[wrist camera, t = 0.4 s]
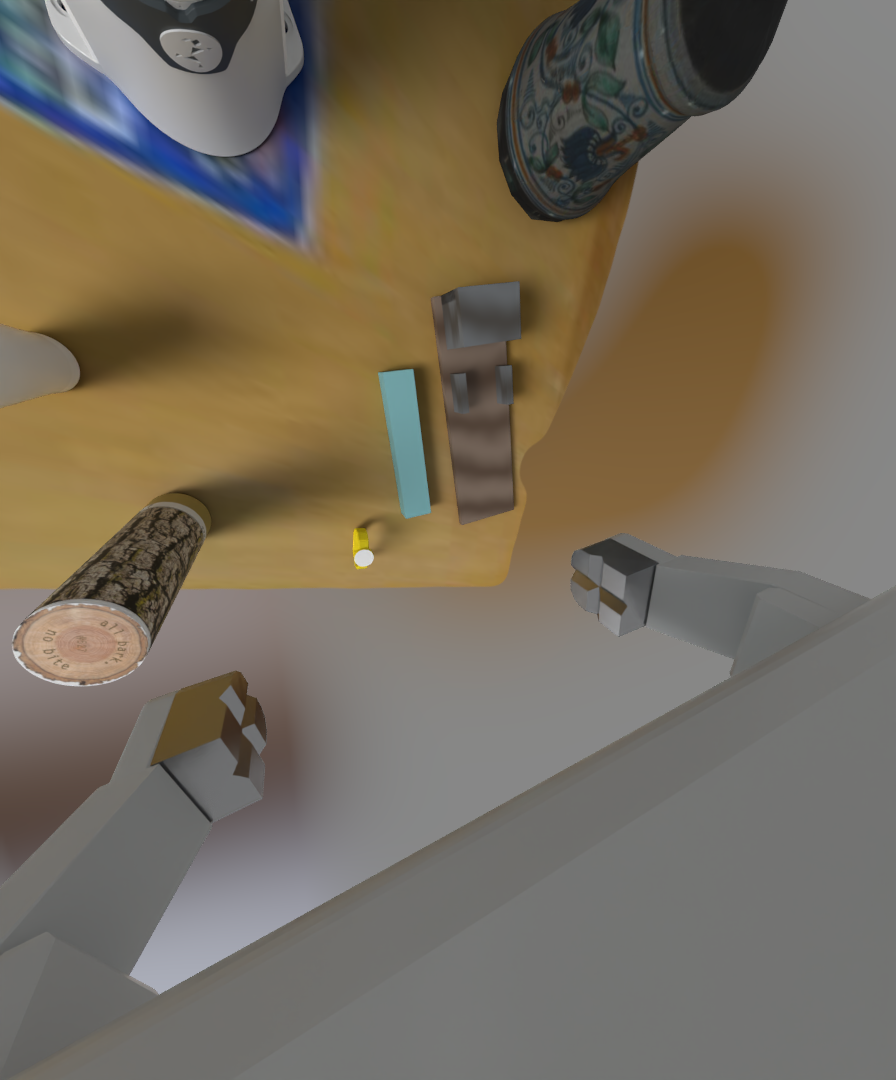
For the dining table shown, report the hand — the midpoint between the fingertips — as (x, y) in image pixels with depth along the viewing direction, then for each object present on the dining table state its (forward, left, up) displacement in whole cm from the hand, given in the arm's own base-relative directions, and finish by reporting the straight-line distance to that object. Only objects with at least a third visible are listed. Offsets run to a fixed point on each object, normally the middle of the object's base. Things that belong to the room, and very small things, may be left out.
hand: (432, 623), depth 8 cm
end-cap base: (+5, +23, -45) cm, 50 cm away
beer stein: (-27, +37, -45) cm, 64 cm away
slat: (+6, +11, -45) cm, 47 cm away
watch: (+19, +1, -45) cm, 49 cm away
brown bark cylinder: (+9, -19, -45) cm, 50 cm away
